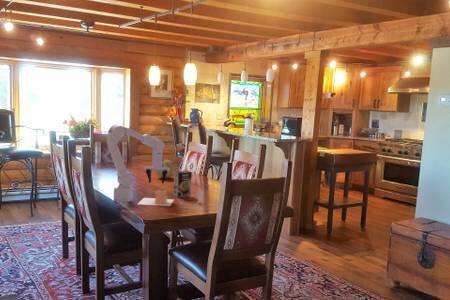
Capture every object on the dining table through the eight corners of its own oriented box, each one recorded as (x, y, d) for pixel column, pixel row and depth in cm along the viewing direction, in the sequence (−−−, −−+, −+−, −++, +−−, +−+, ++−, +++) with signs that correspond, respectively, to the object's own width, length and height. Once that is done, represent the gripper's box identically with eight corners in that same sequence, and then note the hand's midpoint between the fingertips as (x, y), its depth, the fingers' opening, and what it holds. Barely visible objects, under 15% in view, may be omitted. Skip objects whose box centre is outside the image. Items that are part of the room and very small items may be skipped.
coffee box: (178, 199, 259) (179, 172, 257) (172, 197, 264) (173, 171, 262) (190, 197, 264) (192, 172, 263) (185, 195, 269) (186, 170, 268)
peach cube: (155, 203, 239) (155, 192, 238) (157, 201, 244) (157, 190, 244) (165, 204, 239) (165, 192, 238) (166, 202, 244) (167, 190, 243)
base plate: (137, 206, 235) (137, 204, 235) (143, 199, 252) (143, 197, 252) (169, 208, 235) (169, 206, 235) (174, 201, 252) (174, 199, 252)
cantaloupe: (178, 178, 333) (179, 159, 331) (168, 180, 319) (169, 160, 318) (162, 176, 339) (163, 157, 337) (151, 178, 326) (152, 158, 324)
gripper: (170, 159, 254) (169, 182, 255) (146, 158, 254) (145, 181, 256) (168, 161, 247) (167, 184, 248) (143, 159, 247) (143, 183, 249)
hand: (156, 182), depth 251 cm, fingers open, 7 cm apart
